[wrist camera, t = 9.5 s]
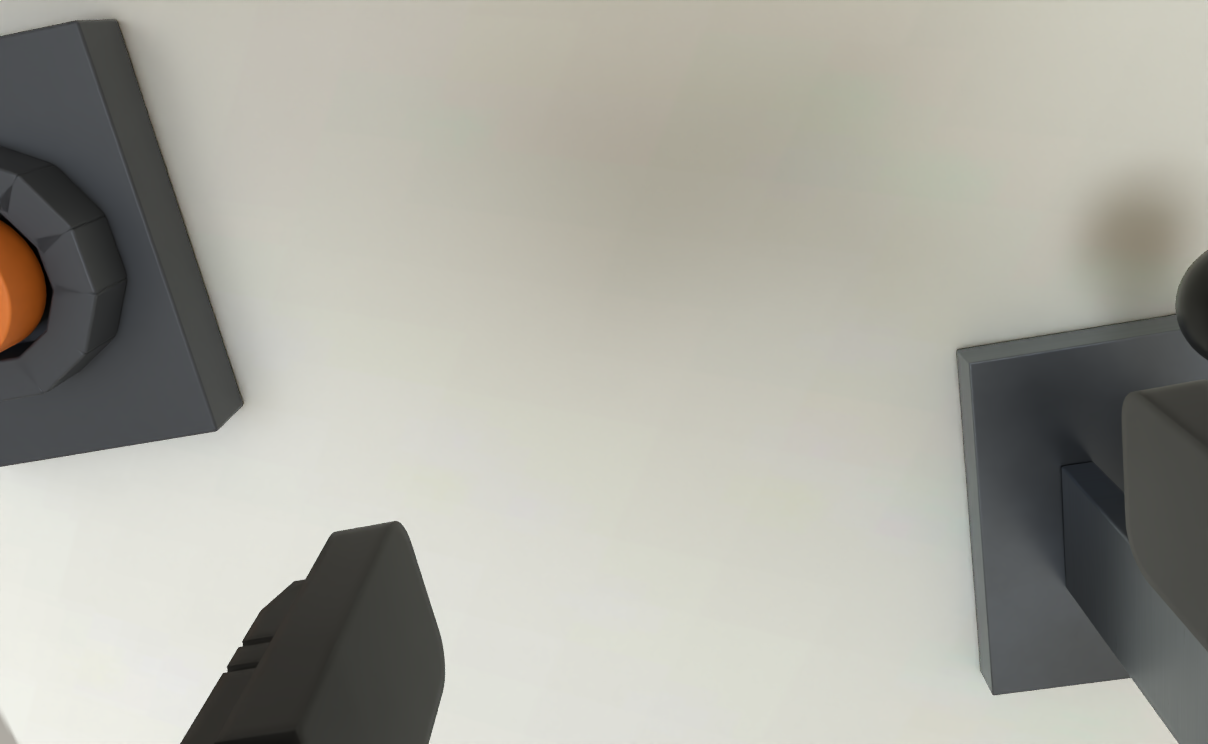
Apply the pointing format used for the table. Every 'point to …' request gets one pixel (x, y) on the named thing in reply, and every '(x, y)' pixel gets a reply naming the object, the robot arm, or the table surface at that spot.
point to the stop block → (99, 259)
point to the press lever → (1194, 305)
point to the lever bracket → (1071, 518)
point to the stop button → (19, 288)
